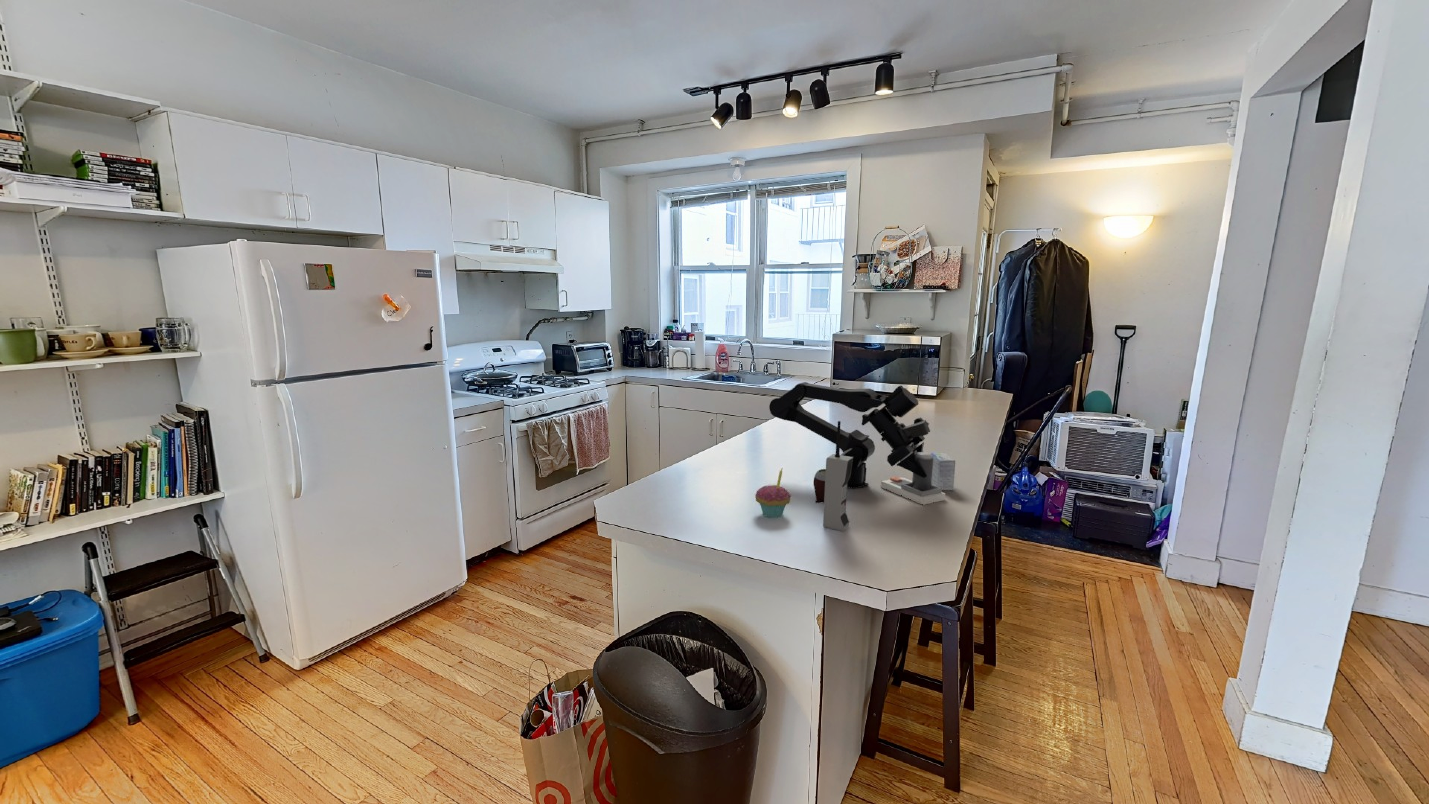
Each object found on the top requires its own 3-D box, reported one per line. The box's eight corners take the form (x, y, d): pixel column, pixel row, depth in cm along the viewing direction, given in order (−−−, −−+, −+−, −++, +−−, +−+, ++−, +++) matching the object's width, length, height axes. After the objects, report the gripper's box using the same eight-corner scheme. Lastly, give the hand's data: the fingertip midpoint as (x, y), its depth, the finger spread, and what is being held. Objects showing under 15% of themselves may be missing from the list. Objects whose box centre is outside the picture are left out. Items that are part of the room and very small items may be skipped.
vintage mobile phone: (843, 532, 129) (849, 424, 124) (822, 527, 131) (828, 421, 127) (849, 526, 132) (855, 421, 127) (828, 522, 134) (834, 418, 130)
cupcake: (793, 510, 141) (795, 464, 139) (785, 523, 133) (787, 474, 131) (759, 506, 144) (760, 460, 142) (750, 518, 136) (751, 469, 134)
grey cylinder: (921, 494, 149) (924, 457, 147) (907, 489, 153) (910, 453, 151) (934, 491, 151) (937, 455, 149) (920, 486, 155) (923, 450, 153)
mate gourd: (808, 498, 150) (810, 443, 147) (834, 495, 152) (837, 441, 150) (821, 508, 143) (824, 450, 140) (849, 505, 146) (852, 448, 143)
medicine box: (953, 490, 157) (956, 460, 156) (937, 490, 157) (940, 460, 156) (942, 481, 165) (945, 452, 163) (927, 481, 165) (929, 452, 164)
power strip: (922, 504, 146) (923, 493, 146) (881, 487, 159) (881, 477, 159) (944, 500, 150) (945, 489, 149) (902, 483, 163) (902, 473, 162)
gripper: (903, 415, 142) (946, 465, 138) (919, 404, 158) (958, 448, 154) (870, 441, 147) (910, 490, 144) (889, 428, 163) (926, 471, 159)
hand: (928, 474), depth 150 cm, fingers open, 5 cm apart
